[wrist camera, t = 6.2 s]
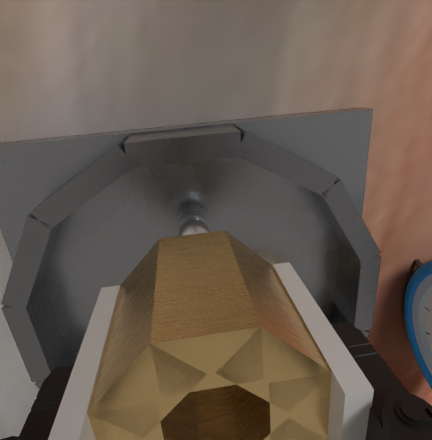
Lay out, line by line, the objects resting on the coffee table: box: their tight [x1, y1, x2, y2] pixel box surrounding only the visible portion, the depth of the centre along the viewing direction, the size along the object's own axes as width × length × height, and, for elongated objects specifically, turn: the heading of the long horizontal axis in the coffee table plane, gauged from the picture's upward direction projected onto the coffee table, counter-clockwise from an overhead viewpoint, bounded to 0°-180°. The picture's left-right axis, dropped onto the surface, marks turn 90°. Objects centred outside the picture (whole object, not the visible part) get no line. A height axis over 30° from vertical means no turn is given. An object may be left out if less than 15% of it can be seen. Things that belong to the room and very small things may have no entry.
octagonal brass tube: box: [87, 230, 332, 440], centre depth 12 cm, size 6×6×6 cm
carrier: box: [0, 108, 381, 388], centre depth 23 cm, size 25×25×8 cm
